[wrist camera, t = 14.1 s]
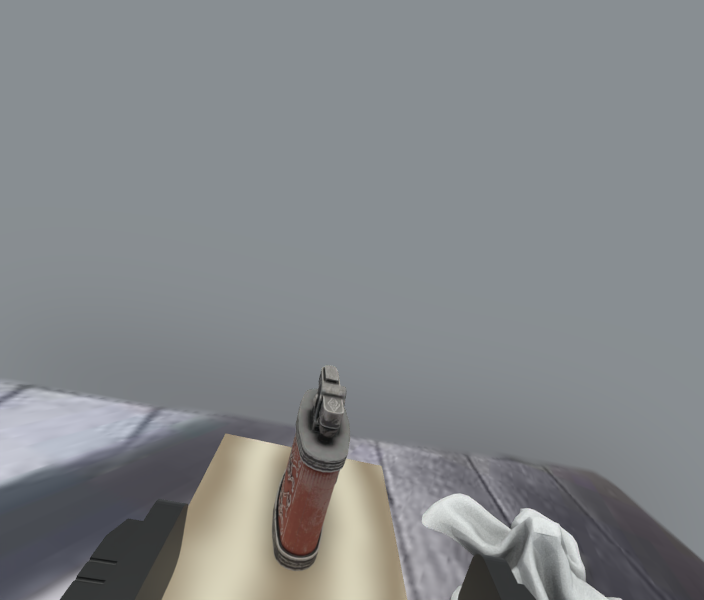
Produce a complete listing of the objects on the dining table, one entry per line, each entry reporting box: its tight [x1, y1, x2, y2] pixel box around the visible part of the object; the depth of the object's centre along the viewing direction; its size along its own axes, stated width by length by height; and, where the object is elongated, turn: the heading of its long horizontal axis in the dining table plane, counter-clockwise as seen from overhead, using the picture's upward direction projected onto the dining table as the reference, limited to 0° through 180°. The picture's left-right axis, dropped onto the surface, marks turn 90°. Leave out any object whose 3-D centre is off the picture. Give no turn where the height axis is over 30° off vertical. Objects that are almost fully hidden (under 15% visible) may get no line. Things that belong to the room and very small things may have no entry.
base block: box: [162, 434, 407, 600], centre depth 25 cm, size 14×14×4 cm
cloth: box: [422, 494, 622, 600], centre depth 29 cm, size 22×19×6 cm
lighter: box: [272, 365, 350, 571], centre depth 24 cm, size 8×3×10 cm, turn 6°
